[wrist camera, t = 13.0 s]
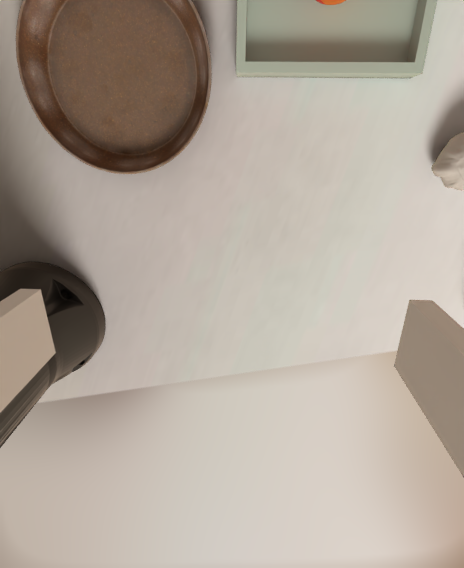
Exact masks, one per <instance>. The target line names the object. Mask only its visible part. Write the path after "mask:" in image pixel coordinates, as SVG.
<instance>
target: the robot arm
mask: <svg viewBox="0 0 464 568" xmlns="http://www.w3.org/2000/svg"><path fill="white" fill-rule="evenodd" d="M104 335H105V318H104V314H103V311H102V308H101V306H100V304H99V302H98V300H97V298H96V297H95V295H94V294H93V292H92V291H91V290H90V289H89V288H88V287H87V286H86V285H85V284H84V283H83V282H82V281H81V280H80V279H79V278H77V277H76V276H74V275H73V274H71V273H70V272H68V271H66V270H64V269H62V268H59V267H57V266H54V265H51V264H46V263H40V262H26V263H20V264H17V265H14V266H12V267H10V268H8V269H6V270H4V271H2V272H0V448H1V446H2V445H3V444H4V443H5V441H6V440H7V439H8V438H9V436H10V435H11V434H12V433H13V431H14V430H15V429H16V428H17V426H18V425H19V424H20V423H21V421H22V420H23V419H24V418H25V416H26V415H27V414H28V412H29V411H30V410H31V409H32V408H33V406H34V405H35V404H36V403H37V401H38V400H39V399H40V398H41V396H42V395H43V394H44V393H45V391H46V390H47V389H48V388H49V387H50V385H51V384H53V383H55V382H57V381H58V380H60V379H62V378H63V377H65V376H67V375H69V374H70V373H71V372H74V371H76V370H77V369H79V368H81V367H82V366H83V365H85V364H86V363H87V362H88V361H89V360H90V359H91V358H92V356H93V355H94V354H95V352H96V351H97V350H98V348H99V347H100V345H101V343H102V341H103V338H104ZM394 366H395V368H396V370H397V371H398V373H399V374H400V376H401V378H402V379H403V381H404V382H405V384H406V386H407V387H408V389H409V390H410V392H411V394H412V395H413V397H414V399H415V400H416V402H417V403H418V405H419V406H420V408H421V410H422V411H423V413H424V415H425V416H426V418H427V419H428V421H429V423H430V424H431V426H432V427H433V429H434V430H435V432H436V434H437V435H438V437H439V438H440V440H441V442H442V443H443V445H444V447H445V448H446V450H447V451H448V453H449V455H450V456H451V458H452V460H453V461H454V463H455V464H456V466H457V468H458V469H459V471H460V472H461V474H462V475H463V477H464V329H463V328H462V327H461V326H460V325H459V324H458V323H457V322H456V321H455V320H453V319H452V318H451V317H450V316H449V315H448V314H447V313H446V312H445V311H443V310H442V309H441V308H440V307H439V306H438V305H437V304H436V303H435V302H433V301H430V300H409V304H408V309H407V313H406V317H405V321H404V326H403V330H402V334H401V338H400V343H399V347H398V351H397V355H396V360H395V364H394Z"/></svg>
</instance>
